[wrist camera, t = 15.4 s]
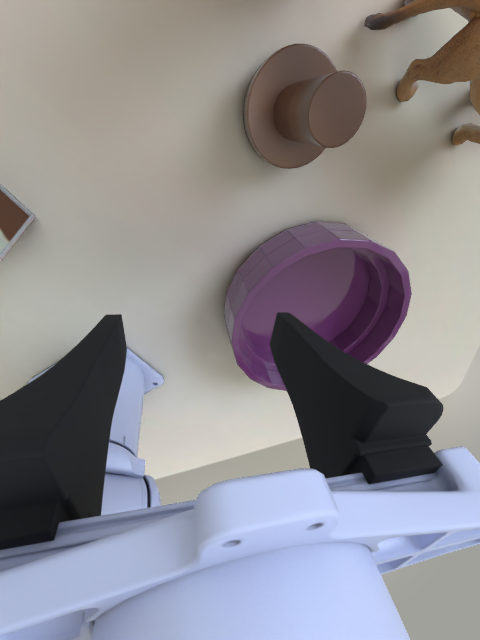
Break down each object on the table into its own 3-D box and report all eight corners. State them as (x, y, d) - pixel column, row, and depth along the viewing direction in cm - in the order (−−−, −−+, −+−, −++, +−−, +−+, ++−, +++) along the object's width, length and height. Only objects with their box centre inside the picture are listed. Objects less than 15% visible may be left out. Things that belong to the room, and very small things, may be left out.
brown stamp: (263, 180, 19) (301, 207, 14) (222, 90, 16) (250, 76, 10) (336, 132, 19) (408, 140, 13) (308, 26, 15) (389, -27, 10)
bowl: (266, 378, 32) (278, 411, 29) (190, 284, 23) (193, 314, 19) (389, 313, 30) (419, 340, 26) (358, 180, 21) (396, 193, 17)
